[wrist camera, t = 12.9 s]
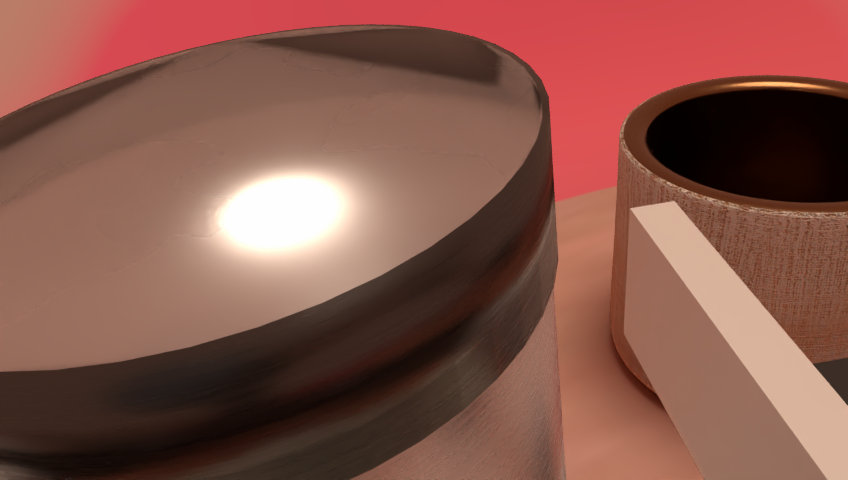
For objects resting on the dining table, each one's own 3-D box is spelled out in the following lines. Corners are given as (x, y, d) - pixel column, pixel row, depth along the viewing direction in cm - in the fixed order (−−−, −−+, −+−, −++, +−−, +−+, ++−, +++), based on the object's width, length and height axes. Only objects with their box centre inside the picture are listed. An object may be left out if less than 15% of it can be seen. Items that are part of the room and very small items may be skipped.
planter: (590, 274, 35) (593, 86, 30) (824, 257, 34) (870, 60, 29) (639, 454, 26) (656, 230, 21) (961, 438, 25) (1065, 198, 20)
